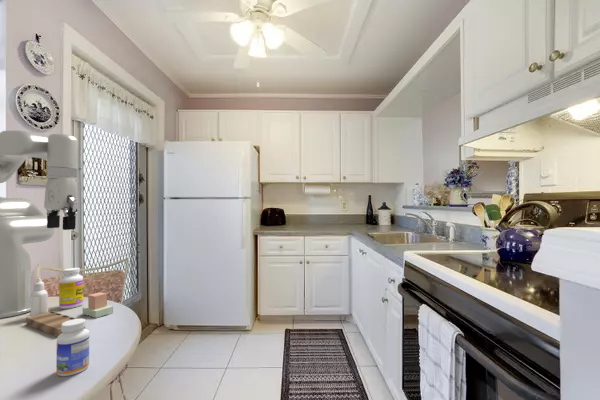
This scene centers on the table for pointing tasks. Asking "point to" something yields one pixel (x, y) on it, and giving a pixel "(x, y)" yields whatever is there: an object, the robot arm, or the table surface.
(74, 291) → the supplement bottle
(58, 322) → the board
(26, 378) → the table surface
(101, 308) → the stub
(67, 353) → the pill bottle
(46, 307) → the eye dropper bottle
